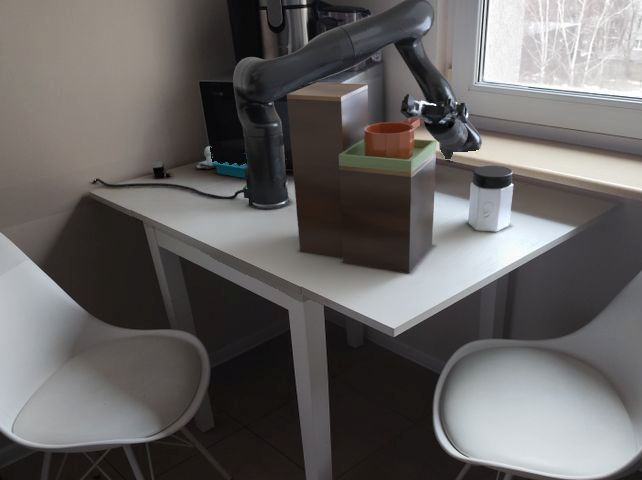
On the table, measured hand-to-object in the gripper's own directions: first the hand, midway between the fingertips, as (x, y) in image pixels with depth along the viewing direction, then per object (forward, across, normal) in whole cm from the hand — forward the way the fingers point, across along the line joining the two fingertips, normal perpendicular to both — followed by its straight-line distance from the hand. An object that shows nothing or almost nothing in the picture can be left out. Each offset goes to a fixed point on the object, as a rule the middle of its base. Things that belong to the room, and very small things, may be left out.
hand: (426, 99), depth 129 cm
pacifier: (-29, -74, +13) cm, 80 cm away
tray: (+15, 0, +16) cm, 22 cm away
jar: (-14, +15, +22) cm, 30 cm away
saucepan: (+11, 0, +13) cm, 17 cm away
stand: (+5, -5, +33) cm, 34 cm away
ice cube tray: (-29, -58, +13) cm, 66 cm away
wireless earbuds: (-19, -81, +19) cm, 86 cm away
